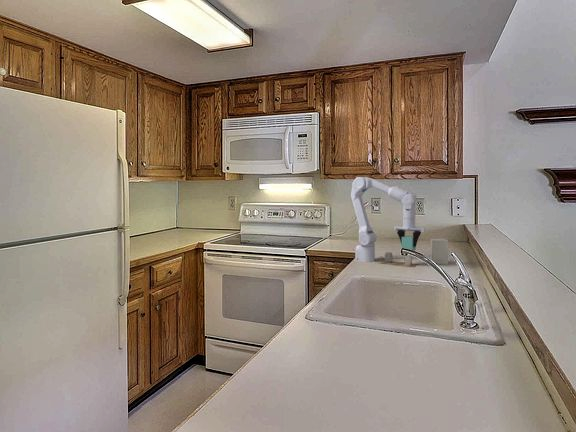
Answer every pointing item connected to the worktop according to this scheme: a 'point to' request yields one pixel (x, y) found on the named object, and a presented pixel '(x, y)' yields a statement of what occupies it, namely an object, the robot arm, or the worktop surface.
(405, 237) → the aqua toy cube
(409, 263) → the post
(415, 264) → the walnut board
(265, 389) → the worktop surface
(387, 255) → the post
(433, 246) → the supplement box
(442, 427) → the worktop surface
